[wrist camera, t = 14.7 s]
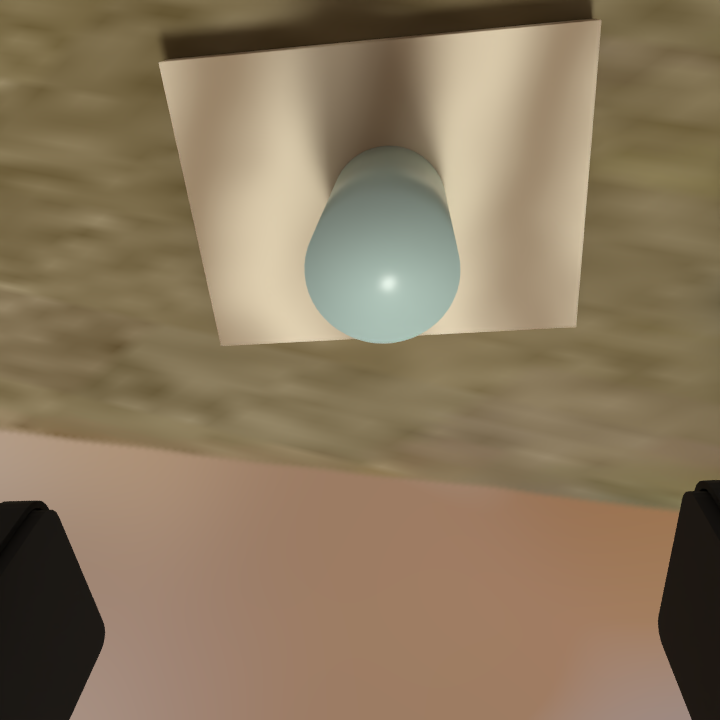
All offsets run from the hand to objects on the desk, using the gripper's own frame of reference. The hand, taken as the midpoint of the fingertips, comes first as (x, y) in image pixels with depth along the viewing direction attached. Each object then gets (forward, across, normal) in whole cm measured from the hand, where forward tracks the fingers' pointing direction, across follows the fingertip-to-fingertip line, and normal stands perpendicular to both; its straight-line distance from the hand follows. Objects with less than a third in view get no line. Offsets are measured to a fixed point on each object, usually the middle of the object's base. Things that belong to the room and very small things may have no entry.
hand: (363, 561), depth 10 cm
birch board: (+20, 0, 0) cm, 20 cm away
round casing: (+19, 0, 0) cm, 19 cm away
